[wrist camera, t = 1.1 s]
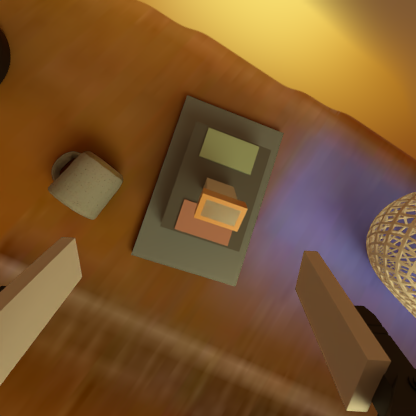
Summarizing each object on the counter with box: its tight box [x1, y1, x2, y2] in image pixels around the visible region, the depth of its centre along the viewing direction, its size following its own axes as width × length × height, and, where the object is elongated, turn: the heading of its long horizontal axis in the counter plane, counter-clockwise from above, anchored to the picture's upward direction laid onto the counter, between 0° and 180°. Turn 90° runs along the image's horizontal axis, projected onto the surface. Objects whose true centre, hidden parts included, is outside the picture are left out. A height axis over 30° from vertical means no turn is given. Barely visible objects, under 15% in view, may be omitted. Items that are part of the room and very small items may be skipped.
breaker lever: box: [194, 178, 248, 232], centre depth 32 cm, size 3×5×9 cm, turn 71°
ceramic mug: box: [48, 151, 123, 219], centre depth 38 cm, size 11×8×8 cm
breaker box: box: [132, 95, 284, 286], centre depth 41 cm, size 28×18×8 cm, turn 161°
